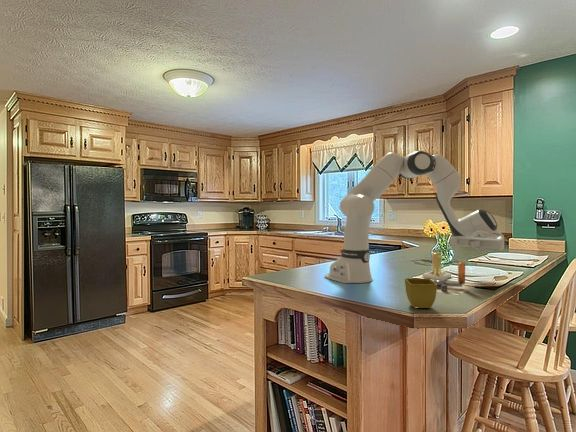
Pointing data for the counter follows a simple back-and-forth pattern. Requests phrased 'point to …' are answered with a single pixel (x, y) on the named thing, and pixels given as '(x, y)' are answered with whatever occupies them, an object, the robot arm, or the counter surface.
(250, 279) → the counter surface
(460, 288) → the crank base
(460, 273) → the crank
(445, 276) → the dish
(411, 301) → the flower pot
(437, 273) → the pin
